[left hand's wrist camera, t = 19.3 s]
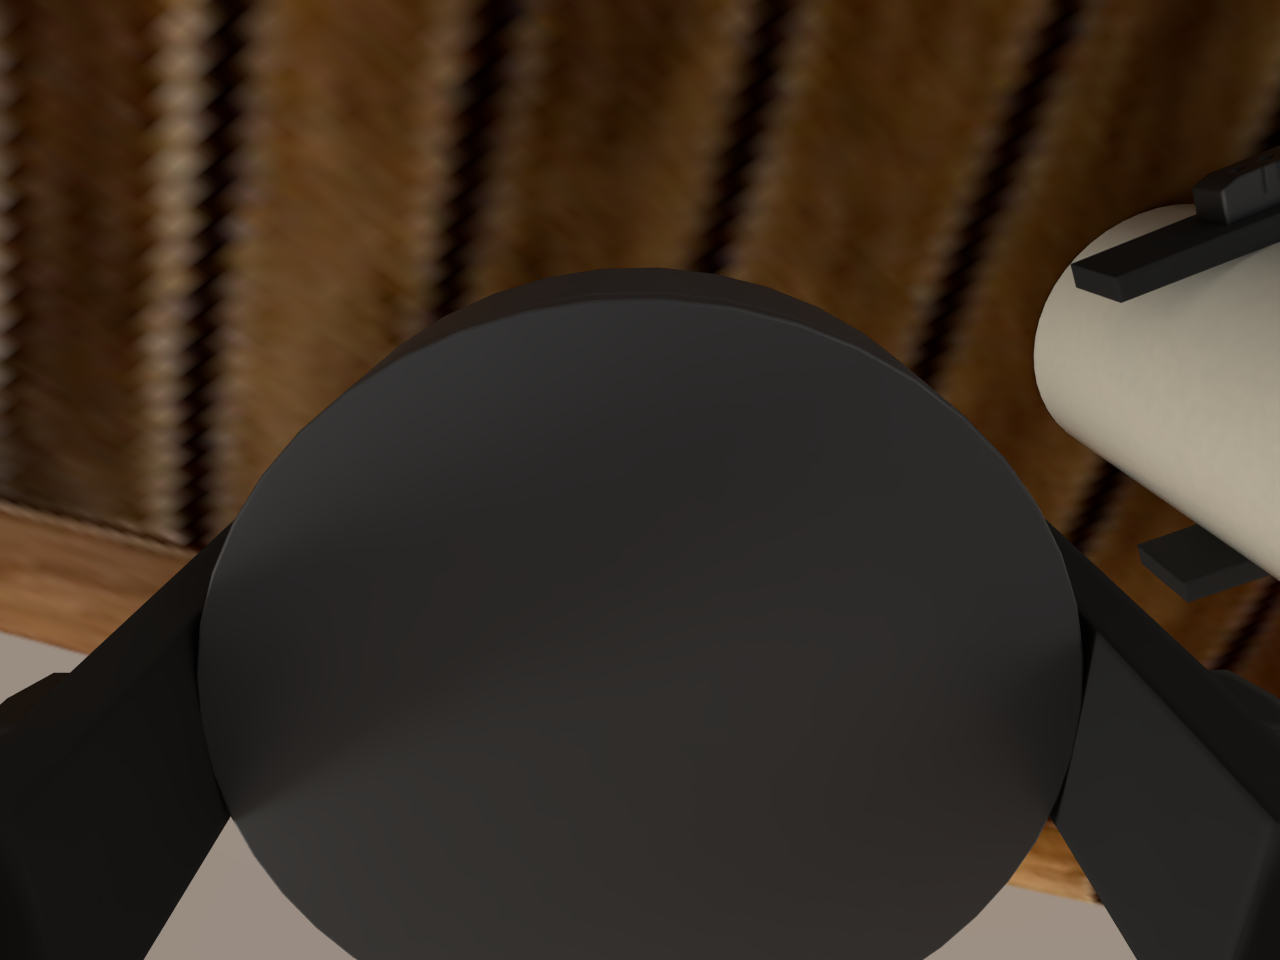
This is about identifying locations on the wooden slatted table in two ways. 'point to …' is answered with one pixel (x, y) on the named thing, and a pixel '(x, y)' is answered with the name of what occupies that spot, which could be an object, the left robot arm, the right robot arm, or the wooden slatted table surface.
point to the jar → (1177, 386)
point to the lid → (640, 641)
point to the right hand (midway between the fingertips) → (1130, 436)
